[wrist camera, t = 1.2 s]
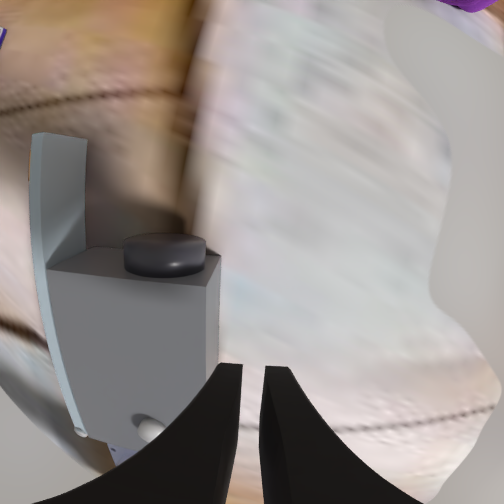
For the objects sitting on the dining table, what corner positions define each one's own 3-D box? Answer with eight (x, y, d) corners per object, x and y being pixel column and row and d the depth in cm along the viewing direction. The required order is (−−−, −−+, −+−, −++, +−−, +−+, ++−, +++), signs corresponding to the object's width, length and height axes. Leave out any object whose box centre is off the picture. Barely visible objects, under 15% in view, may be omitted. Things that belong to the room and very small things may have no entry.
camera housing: (217, 411, 19) (207, 471, 14) (114, 394, 20) (85, 443, 14) (222, 234, 17) (204, 261, 11) (93, 227, 17) (36, 247, 11)
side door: (110, 402, 19) (88, 439, 15) (94, 398, 19) (71, 433, 15) (87, 139, 15) (43, 132, 11) (69, 141, 15) (24, 135, 11)
